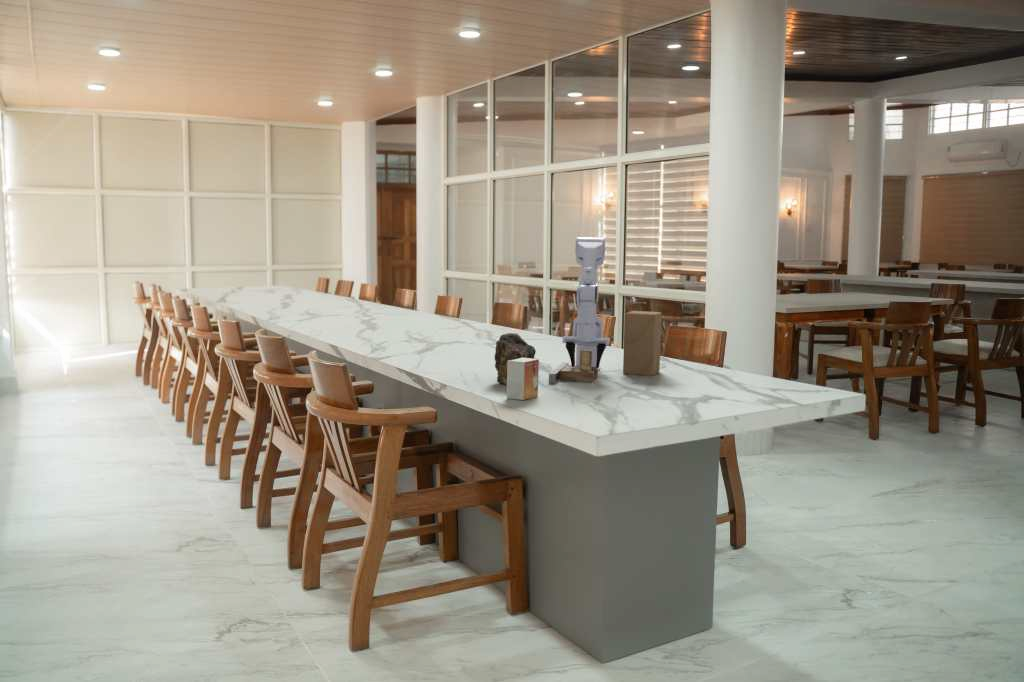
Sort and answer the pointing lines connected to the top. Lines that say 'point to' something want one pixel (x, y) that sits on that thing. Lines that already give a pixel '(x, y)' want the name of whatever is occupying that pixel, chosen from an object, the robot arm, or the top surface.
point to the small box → (522, 378)
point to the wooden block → (642, 343)
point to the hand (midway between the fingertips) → (585, 366)
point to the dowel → (585, 359)
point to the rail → (556, 373)
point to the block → (578, 374)
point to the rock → (510, 353)
